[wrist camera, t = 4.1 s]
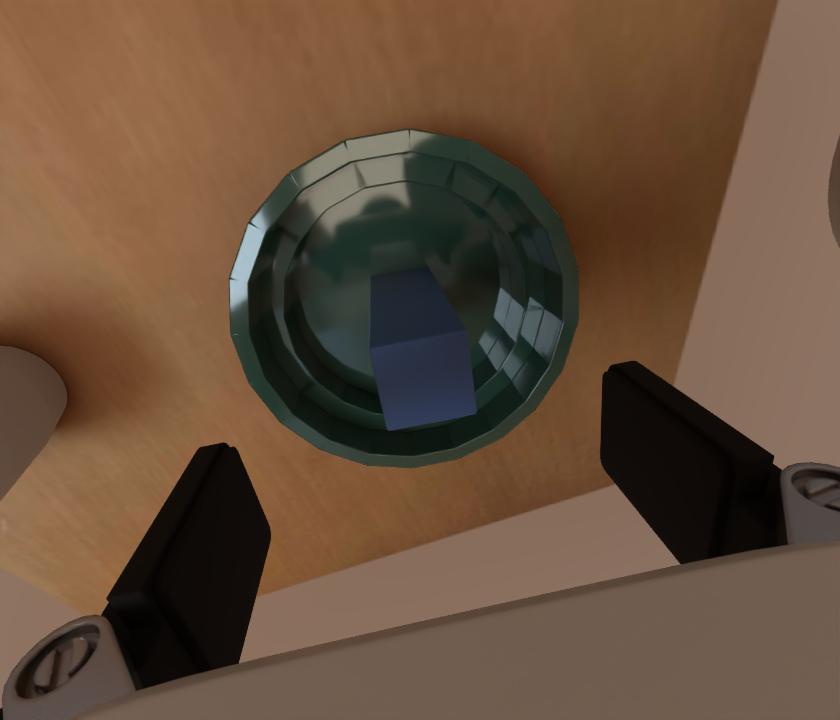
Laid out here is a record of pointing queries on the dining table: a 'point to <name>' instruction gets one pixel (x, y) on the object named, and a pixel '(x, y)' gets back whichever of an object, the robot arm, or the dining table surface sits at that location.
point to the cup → (26, 411)
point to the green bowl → (395, 252)
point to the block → (418, 351)
